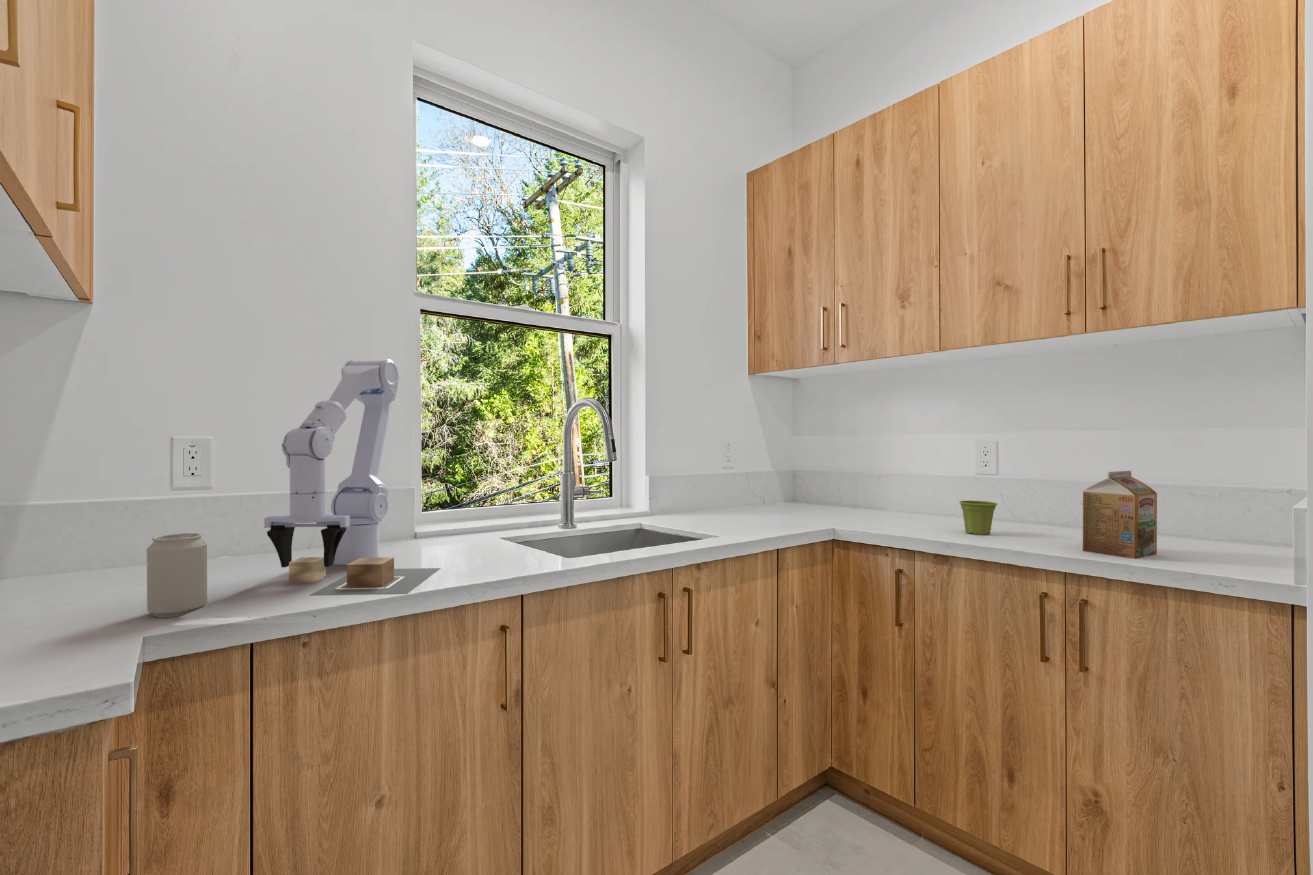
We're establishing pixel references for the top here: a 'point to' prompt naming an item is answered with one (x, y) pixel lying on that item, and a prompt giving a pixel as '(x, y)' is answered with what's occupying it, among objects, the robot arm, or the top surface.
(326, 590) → the gray mat
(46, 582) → the top surface
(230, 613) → the top surface
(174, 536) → the can
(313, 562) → the maple cube
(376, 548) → the robot arm
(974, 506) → the plant pot
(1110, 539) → the milk carton
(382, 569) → the walnut block
